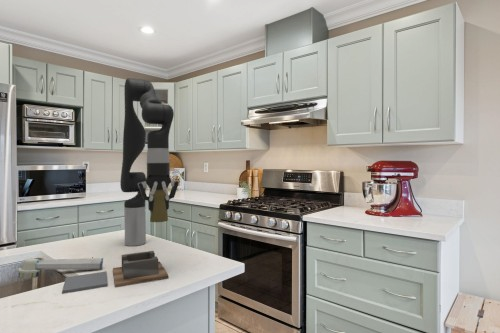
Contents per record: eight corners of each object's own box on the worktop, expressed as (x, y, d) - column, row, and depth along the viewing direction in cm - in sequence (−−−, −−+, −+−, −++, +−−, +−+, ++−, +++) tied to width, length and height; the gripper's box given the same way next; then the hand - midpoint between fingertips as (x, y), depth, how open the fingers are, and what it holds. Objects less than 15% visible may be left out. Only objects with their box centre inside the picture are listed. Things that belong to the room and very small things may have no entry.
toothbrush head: (102, 260, 110) (17, 258, 101) (100, 279, 109) (14, 279, 101) (103, 255, 115) (22, 254, 106) (101, 274, 114) (20, 274, 105)
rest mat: (66, 279, 101) (65, 277, 101) (106, 273, 107) (106, 271, 107) (62, 293, 91) (62, 290, 91) (107, 286, 96) (107, 283, 96)
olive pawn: (166, 222, 106) (166, 189, 105) (148, 222, 105) (147, 189, 105) (169, 218, 112) (169, 187, 111) (152, 219, 111) (151, 188, 111)
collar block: (112, 270, 109) (112, 253, 109) (159, 264, 116) (159, 247, 116) (115, 287, 95) (114, 267, 95) (168, 278, 102) (168, 260, 102)
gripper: (176, 161, 115) (176, 208, 115) (135, 161, 108) (135, 211, 108) (181, 161, 108) (181, 211, 108) (138, 162, 101) (138, 214, 102)
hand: (158, 211), depth 108 cm, fingers closed on olive pawn, 4 cm apart
